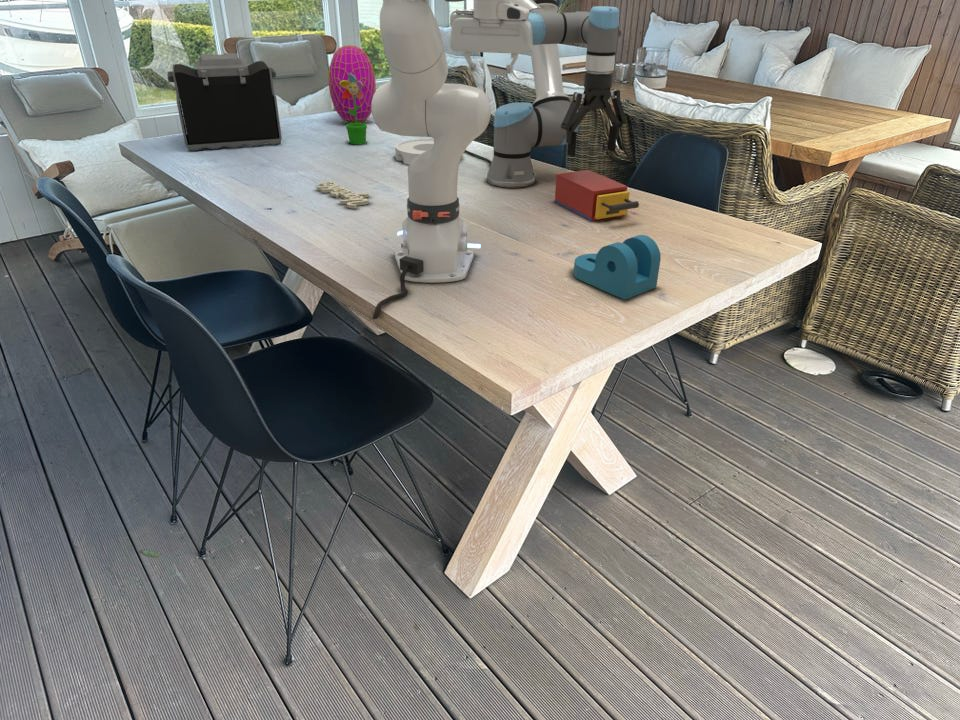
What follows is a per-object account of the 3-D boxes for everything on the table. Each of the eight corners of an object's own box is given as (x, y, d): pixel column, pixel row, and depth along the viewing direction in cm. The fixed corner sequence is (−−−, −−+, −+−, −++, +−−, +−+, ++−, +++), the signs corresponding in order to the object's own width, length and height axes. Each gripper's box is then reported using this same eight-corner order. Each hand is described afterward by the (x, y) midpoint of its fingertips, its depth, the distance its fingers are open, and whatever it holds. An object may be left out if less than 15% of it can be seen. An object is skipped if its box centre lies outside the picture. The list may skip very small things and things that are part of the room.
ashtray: (454, 167, 232) (454, 155, 230) (388, 164, 235) (387, 152, 233) (466, 151, 252) (466, 140, 250) (404, 148, 255) (404, 137, 253)
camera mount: (656, 287, 150) (663, 241, 145) (624, 299, 144) (630, 252, 139) (595, 262, 162) (599, 219, 157) (563, 272, 156) (567, 228, 151)
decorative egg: (362, 116, 305) (357, 42, 290) (386, 123, 292) (382, 46, 277) (324, 121, 294) (316, 45, 279) (347, 129, 281) (340, 49, 266)
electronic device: (279, 132, 275) (268, 51, 260) (286, 144, 258) (275, 58, 243) (181, 139, 264) (164, 54, 249) (182, 152, 246) (163, 62, 231)
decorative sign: (381, 199, 198) (351, 206, 193) (382, 203, 199) (351, 209, 193) (339, 178, 216) (309, 184, 211) (339, 182, 216) (310, 187, 211)
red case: (624, 215, 192) (627, 186, 188) (591, 221, 188) (594, 191, 183) (586, 197, 206) (588, 169, 202) (554, 202, 202) (556, 174, 197)
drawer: (639, 220, 186) (642, 197, 183) (609, 225, 182) (611, 202, 179) (590, 197, 203) (592, 176, 200) (562, 201, 199) (564, 180, 196)
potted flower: (342, 144, 260) (336, 73, 247) (351, 139, 266) (346, 70, 254) (365, 146, 257) (360, 74, 245) (374, 141, 264) (369, 71, 251)
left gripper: (446, 9, 163) (447, 72, 170) (531, 12, 159) (528, 76, 166) (453, 7, 168) (453, 68, 175) (535, 10, 164) (532, 72, 171)
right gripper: (628, 67, 190) (619, 145, 201) (551, 72, 180) (546, 154, 191) (645, 71, 184) (635, 151, 195) (567, 76, 174) (560, 160, 185)
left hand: (490, 72), depth 171 cm, fingers open, 8 cm apart
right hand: (591, 153), depth 193 cm, fingers open, 13 cm apart
